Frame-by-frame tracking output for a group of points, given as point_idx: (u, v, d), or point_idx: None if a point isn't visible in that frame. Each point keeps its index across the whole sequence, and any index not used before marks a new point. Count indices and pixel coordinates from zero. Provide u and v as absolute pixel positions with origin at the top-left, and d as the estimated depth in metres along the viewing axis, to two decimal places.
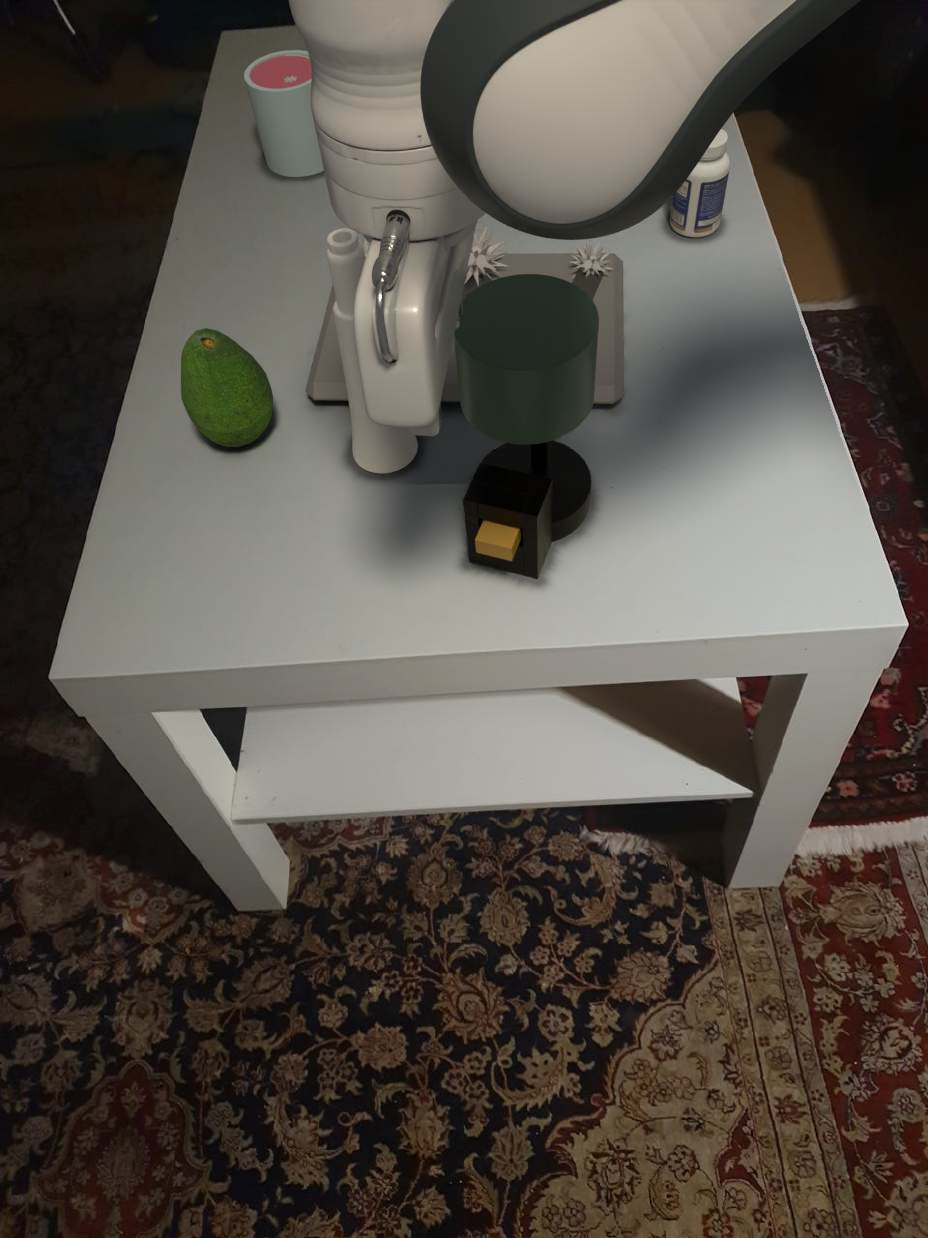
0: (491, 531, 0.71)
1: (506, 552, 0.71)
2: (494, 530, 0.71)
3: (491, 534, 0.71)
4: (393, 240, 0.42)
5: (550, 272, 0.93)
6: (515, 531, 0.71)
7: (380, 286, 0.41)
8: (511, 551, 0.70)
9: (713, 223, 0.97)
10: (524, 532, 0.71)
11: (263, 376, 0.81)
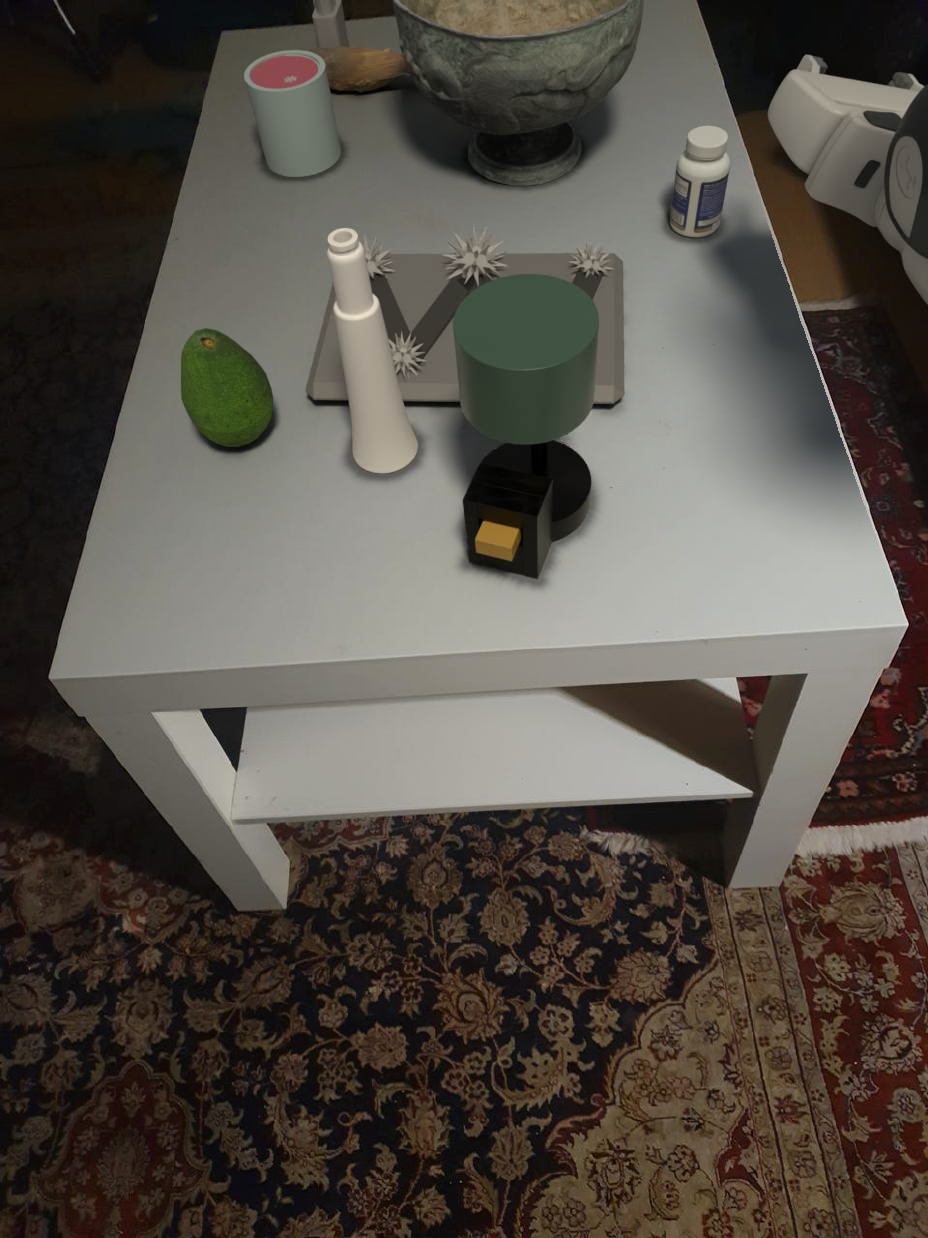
0: (491, 531, 0.71)
1: (506, 552, 0.71)
2: (494, 530, 0.71)
3: (491, 534, 0.71)
4: None
5: (550, 271, 0.93)
6: (515, 531, 0.71)
7: None
8: (511, 551, 0.70)
9: (713, 223, 0.97)
10: (524, 532, 0.71)
11: (263, 376, 0.81)
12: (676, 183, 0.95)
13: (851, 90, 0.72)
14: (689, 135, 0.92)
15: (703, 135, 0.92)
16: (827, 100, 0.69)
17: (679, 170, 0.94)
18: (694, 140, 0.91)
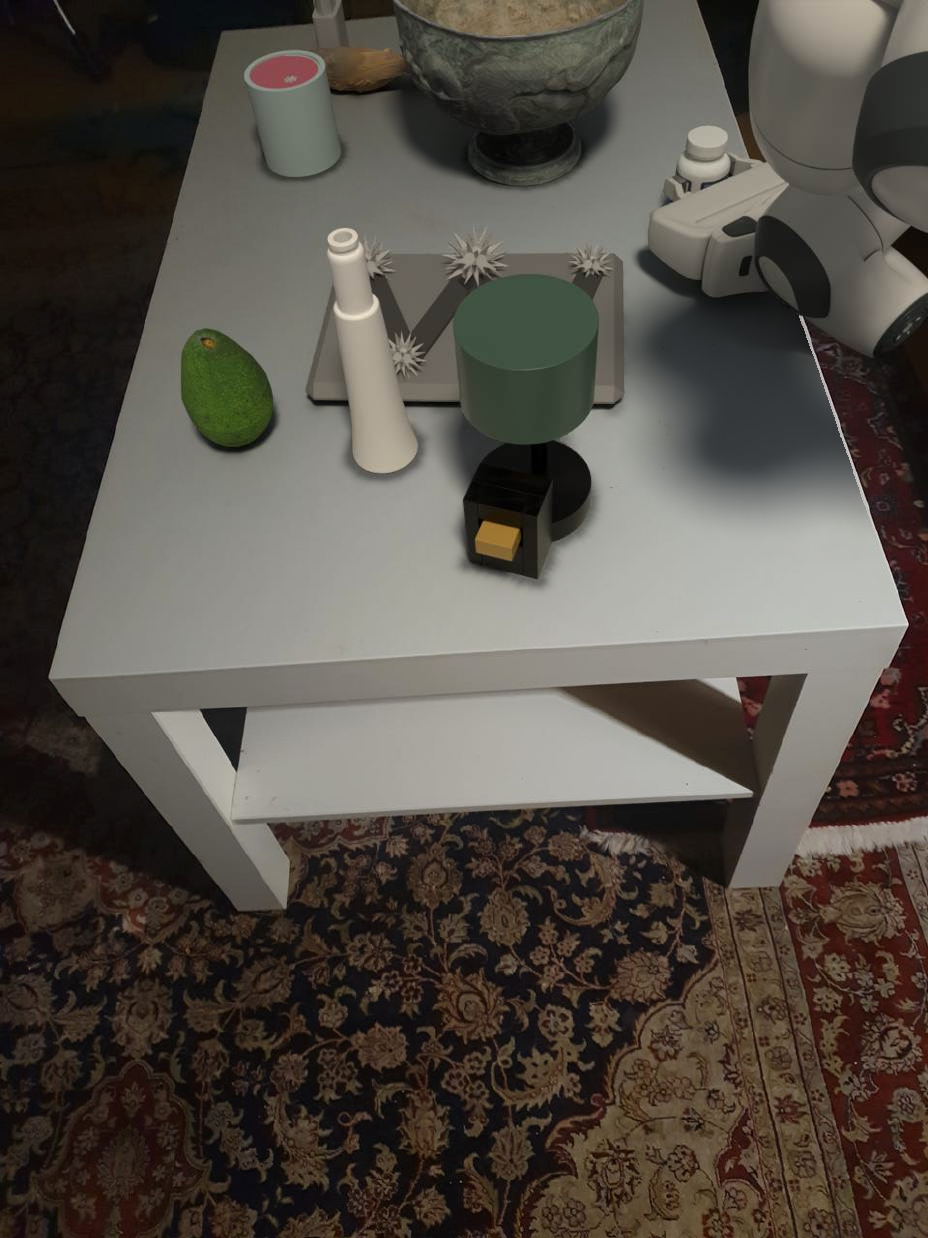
0: (491, 531, 0.71)
1: (506, 552, 0.71)
2: (494, 530, 0.71)
3: (491, 534, 0.71)
4: None
5: (550, 272, 0.93)
6: (515, 531, 0.71)
7: None
8: (511, 551, 0.70)
9: None
10: (524, 532, 0.71)
11: (263, 376, 0.81)
12: None
13: (703, 203, 0.89)
14: (689, 135, 0.92)
15: (703, 135, 0.92)
16: (691, 230, 0.86)
17: (679, 170, 0.94)
18: (694, 140, 0.91)
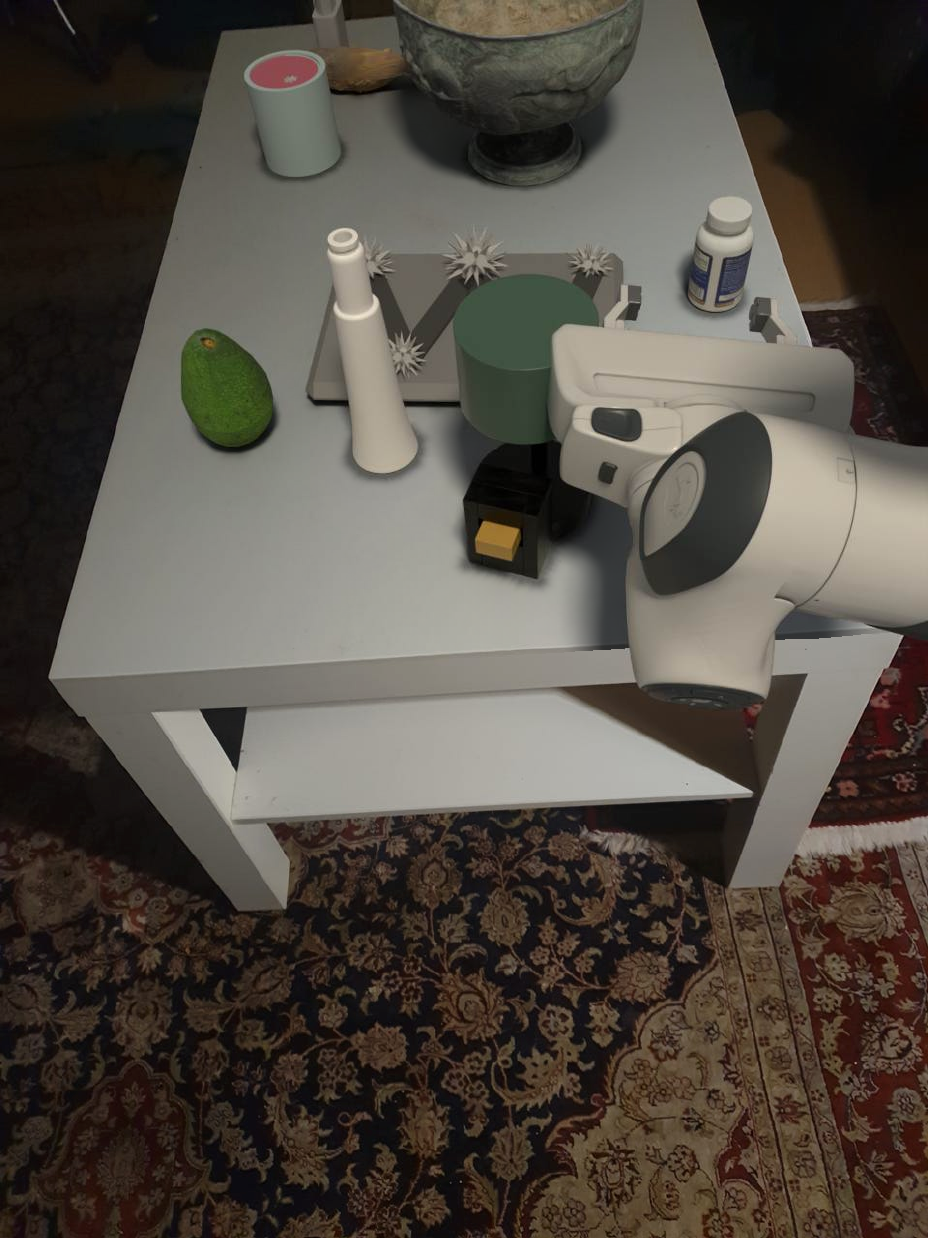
0: (491, 531, 0.71)
1: (506, 552, 0.71)
2: (494, 530, 0.71)
3: (491, 534, 0.71)
4: None
5: (550, 271, 0.93)
6: (515, 531, 0.71)
7: None
8: (511, 551, 0.70)
9: (735, 297, 0.90)
10: (524, 532, 0.71)
11: (263, 376, 0.81)
12: (695, 256, 0.88)
13: (632, 353, 0.60)
14: (710, 207, 0.85)
15: (725, 207, 0.85)
16: (567, 383, 0.58)
17: (699, 243, 0.87)
18: (716, 213, 0.85)
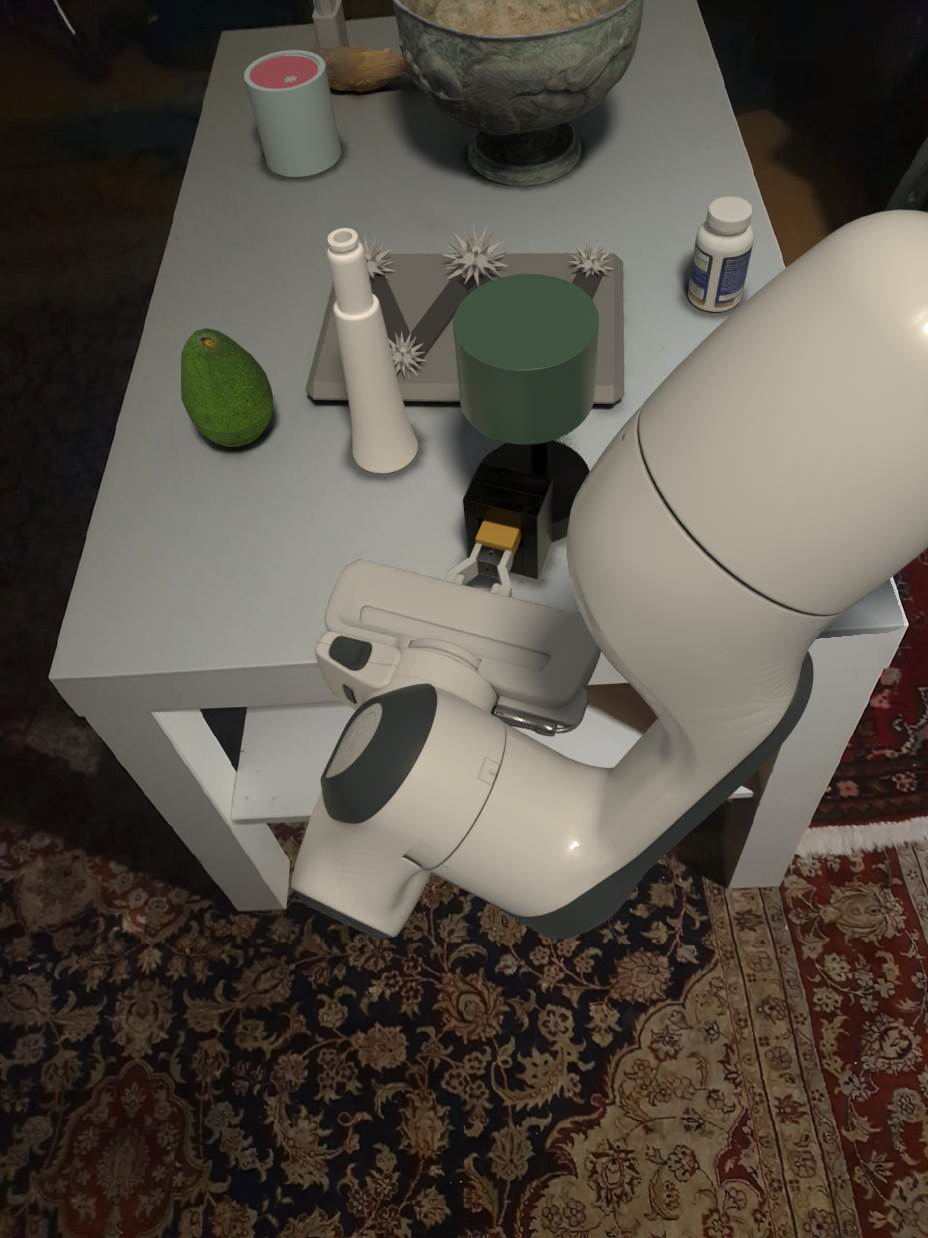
0: (491, 530, 0.71)
1: None
2: (495, 529, 0.71)
3: (492, 533, 0.71)
4: (519, 725, 0.63)
5: (550, 271, 0.93)
6: (515, 530, 0.71)
7: None
8: (511, 550, 0.71)
9: (735, 297, 0.90)
10: (524, 532, 0.71)
11: (263, 376, 0.81)
12: (695, 256, 0.88)
13: (402, 593, 0.67)
14: (710, 207, 0.85)
15: (725, 207, 0.85)
16: (331, 611, 0.66)
17: (699, 243, 0.87)
18: (716, 213, 0.85)
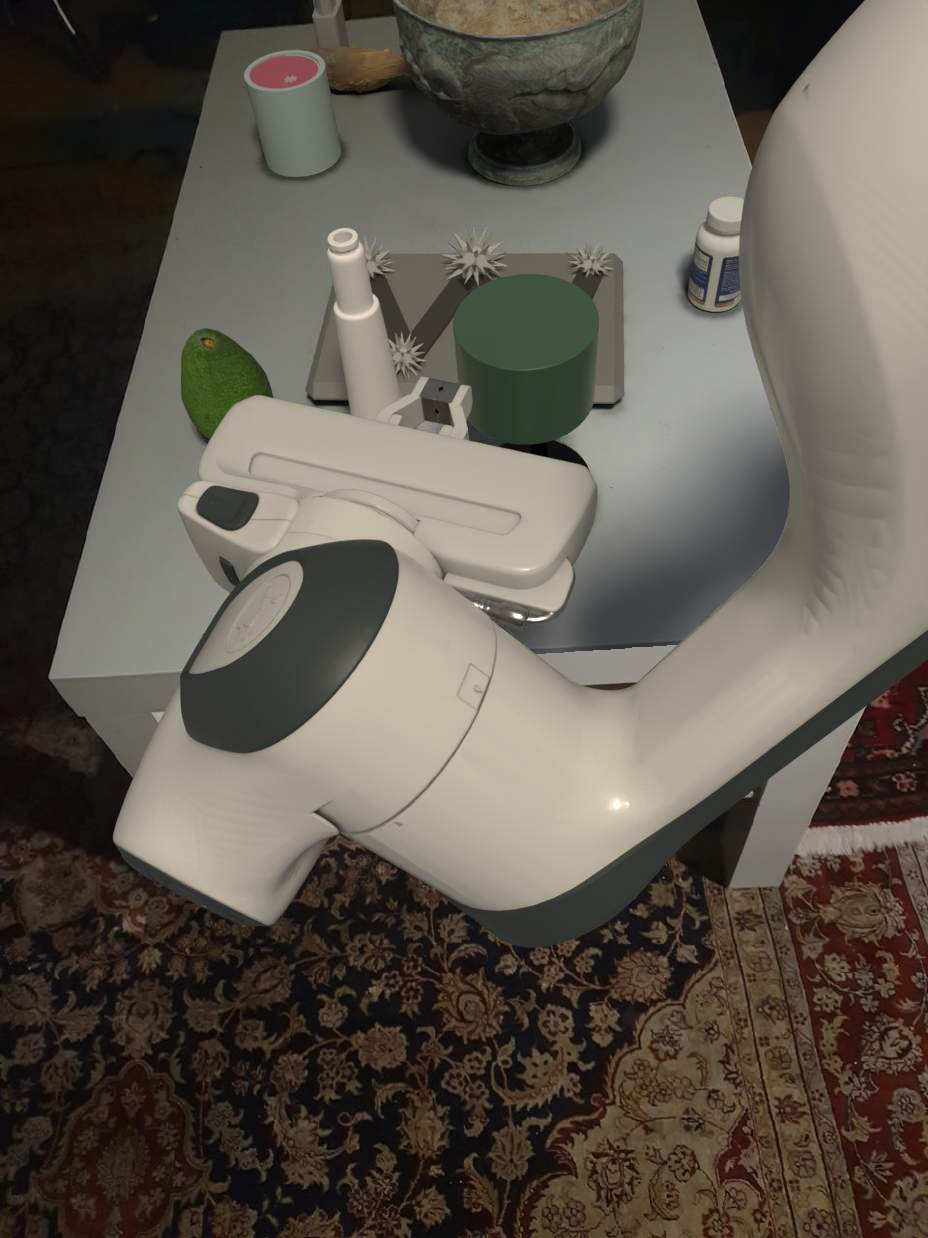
0: None
1: None
2: None
3: None
4: None
5: (550, 271, 0.93)
6: None
7: (534, 623, 0.42)
8: None
9: (735, 297, 0.90)
10: None
11: (263, 376, 0.81)
12: (695, 256, 0.88)
13: (312, 436, 0.47)
14: (710, 207, 0.85)
15: (725, 207, 0.85)
16: (208, 457, 0.46)
17: (699, 243, 0.87)
18: (716, 213, 0.85)
